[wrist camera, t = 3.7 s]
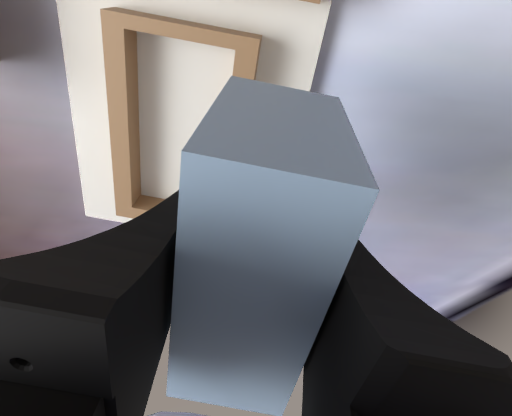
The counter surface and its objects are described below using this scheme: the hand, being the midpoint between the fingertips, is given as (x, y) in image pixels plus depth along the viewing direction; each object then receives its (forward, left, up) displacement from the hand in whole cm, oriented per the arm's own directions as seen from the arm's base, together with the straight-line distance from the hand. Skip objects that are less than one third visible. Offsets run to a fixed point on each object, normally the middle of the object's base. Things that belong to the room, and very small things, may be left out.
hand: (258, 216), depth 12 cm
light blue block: (0, 0, -2) cm, 2 cm away
